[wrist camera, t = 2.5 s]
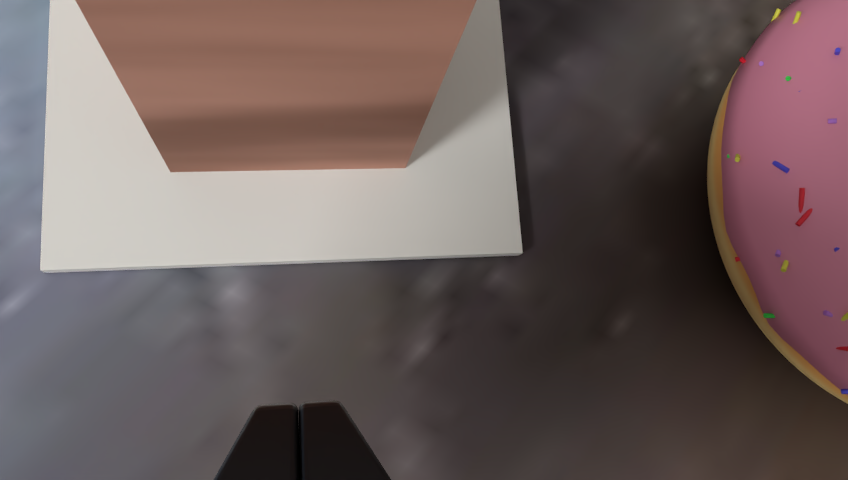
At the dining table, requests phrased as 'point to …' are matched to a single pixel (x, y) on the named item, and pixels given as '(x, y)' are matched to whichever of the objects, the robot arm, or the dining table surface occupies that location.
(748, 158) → the doughnut
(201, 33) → the brick block
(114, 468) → the dining table surface
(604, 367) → the dining table surface
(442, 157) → the white paper sheet
